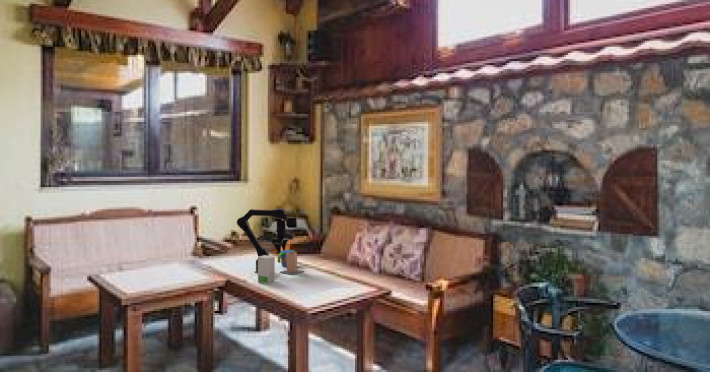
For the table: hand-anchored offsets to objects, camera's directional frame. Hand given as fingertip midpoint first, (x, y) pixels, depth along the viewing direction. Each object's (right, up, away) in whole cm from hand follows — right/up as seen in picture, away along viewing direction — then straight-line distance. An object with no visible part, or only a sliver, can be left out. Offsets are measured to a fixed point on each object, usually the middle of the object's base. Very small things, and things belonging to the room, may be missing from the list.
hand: (281, 252), depth 339 cm
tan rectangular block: (+7, -12, -1) cm, 14 cm away
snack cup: (+1, -12, +18) cm, 21 cm away
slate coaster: (+7, -13, -1) cm, 15 cm away
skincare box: (-6, -15, -24) cm, 29 cm away
